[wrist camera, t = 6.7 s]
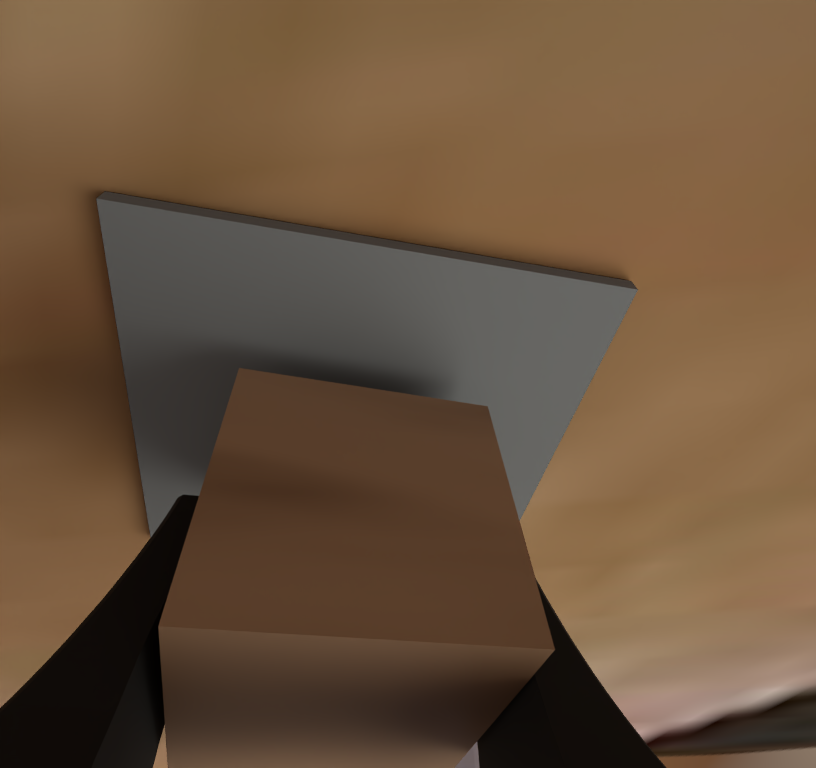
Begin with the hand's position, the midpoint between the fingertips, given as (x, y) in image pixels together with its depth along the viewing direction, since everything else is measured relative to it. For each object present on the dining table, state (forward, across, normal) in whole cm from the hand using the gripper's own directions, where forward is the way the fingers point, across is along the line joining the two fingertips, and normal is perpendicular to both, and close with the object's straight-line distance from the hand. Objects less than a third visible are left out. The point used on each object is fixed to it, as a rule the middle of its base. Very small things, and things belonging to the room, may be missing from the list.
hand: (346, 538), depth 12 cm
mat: (+3, 0, 0) cm, 3 cm away
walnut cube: (+2, 0, 0) cm, 2 cm away
